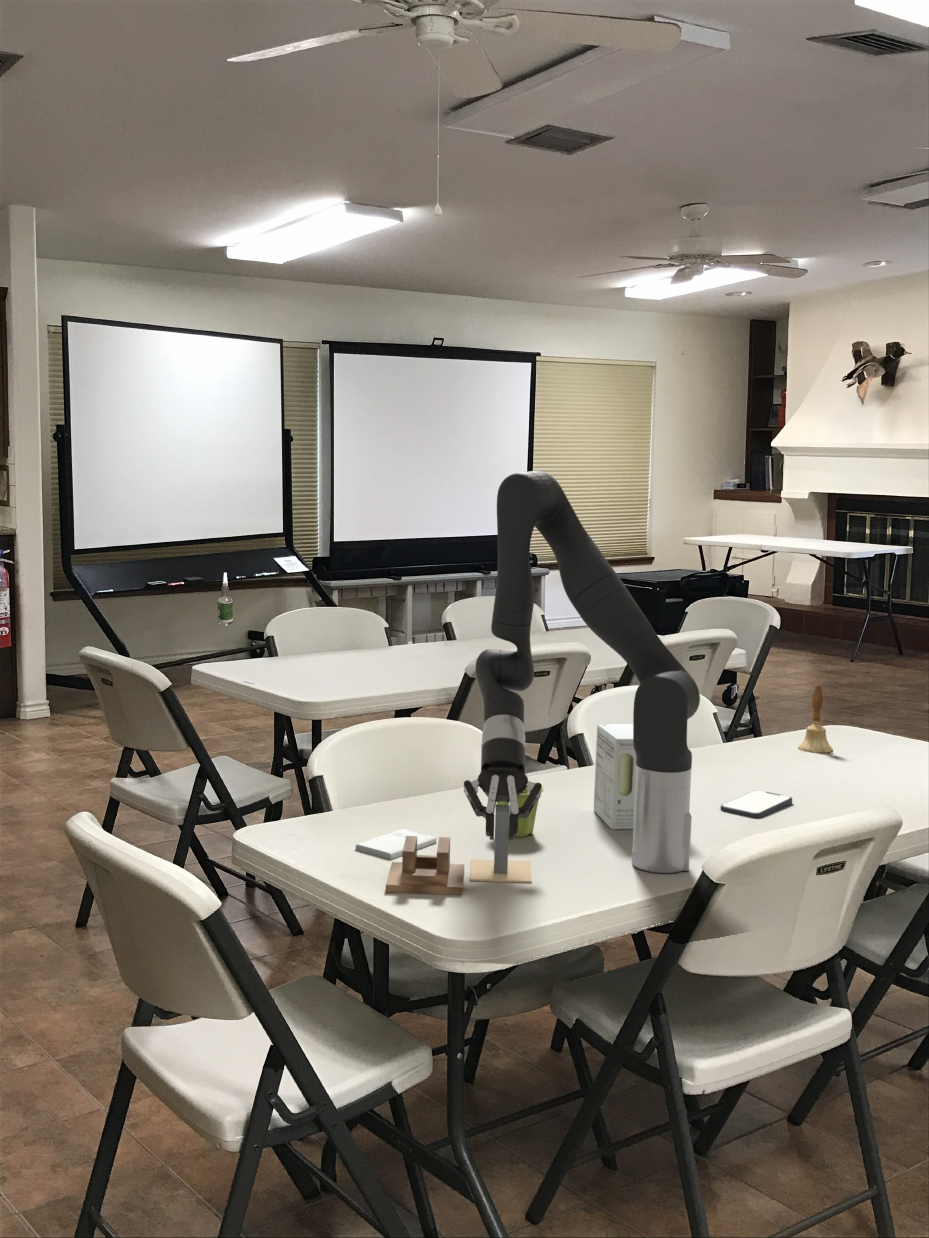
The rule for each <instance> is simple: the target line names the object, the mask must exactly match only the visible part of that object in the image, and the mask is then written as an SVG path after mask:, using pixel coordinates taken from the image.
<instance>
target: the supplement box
mask: <svg viewBox="0 0 929 1238" xmlns="http://www.w3.org/2000/svg"><path fill="white" fill-rule="evenodd" d="M595 748H596V750H595V767H594V768H595V770H594V787H593V788H594V791H593V792H594V795H593V811H594V812H595V813H596V814H597V815H598V816H599V818H601V820H603V822H604V823H605V824H606V825H607V827H609V828H610V830H633V825H634V802H635V782H636V781H635V779H636V752H635V749H634V744H633V723H622V724H621V723H619V724H617V723H616V724H615V723H614V724H613V723H611V724H608V723H607V724H604V723H603V724H597V725H596V747H595Z"/></svg>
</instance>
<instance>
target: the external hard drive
mask: <svg viewBox="0 0 929 1238" xmlns="http://www.w3.org/2000/svg"><path fill="white" fill-rule="evenodd" d="M406 836H417V851H418V850H420V849H423V848H425V847H428V845H429V846H431V844H432V845H434V844H436V843H437V841H438V840H437V839H438V838H437V837H435V836H432V835H428V834H424V833H421V832H416V831H414V830H410V829H406V828H403V829H398V830H395V831H393V832H390V833H387V834H384V835H380V836H378V837H375V838H371V839H369V840H366V841H363V842H360V843H357V844H355V850H356V851H359V852H363V853H367V854H371V855H374V856H378V857H381V858H384V859H388V860H393V859H394V860H395V859H396V858H397V859H398V858H399V857H401V856H402V851H403V847H404V843H405V839H406Z"/></svg>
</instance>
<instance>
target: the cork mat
mask: <svg viewBox="0 0 929 1238" xmlns="http://www.w3.org/2000/svg"><path fill="white" fill-rule="evenodd" d="M469 870H470V871H469V881H470V882H490V883H491V882H493V883H494V882H497V883H521V884H522V883H526V884H532V883H533V882H532V881H533V880H532V879H533V878H532V871H531V861H530V860H513V859H512V860H509V859H508V869H507V874H494V859H481V858H480V859H479V858H478V859H477V858H476V859H475V858H471V859H470V867H469Z"/></svg>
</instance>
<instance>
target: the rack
mask: <svg viewBox="0 0 929 1238" xmlns="http://www.w3.org/2000/svg"><path fill="white" fill-rule="evenodd" d="M436 850H437V851H436V855H429V854H427V855H425V854H418V850H417V836H406V839H405V843H404V847H403V851H402V857H401V858H402V859H401V860H402V861H398V862H397V861H392V862H391V865H390V867H389V868H390V869H389V871H388V876H387V880H386V882H385V893H399V894H401V893H402V894H404V893H405V894H429V895H460V896H462V895H463V891H464V879H465V864H464V863H463V864H462V863H451V837H450V836H439V837H438V843H437V847H436Z"/></svg>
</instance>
